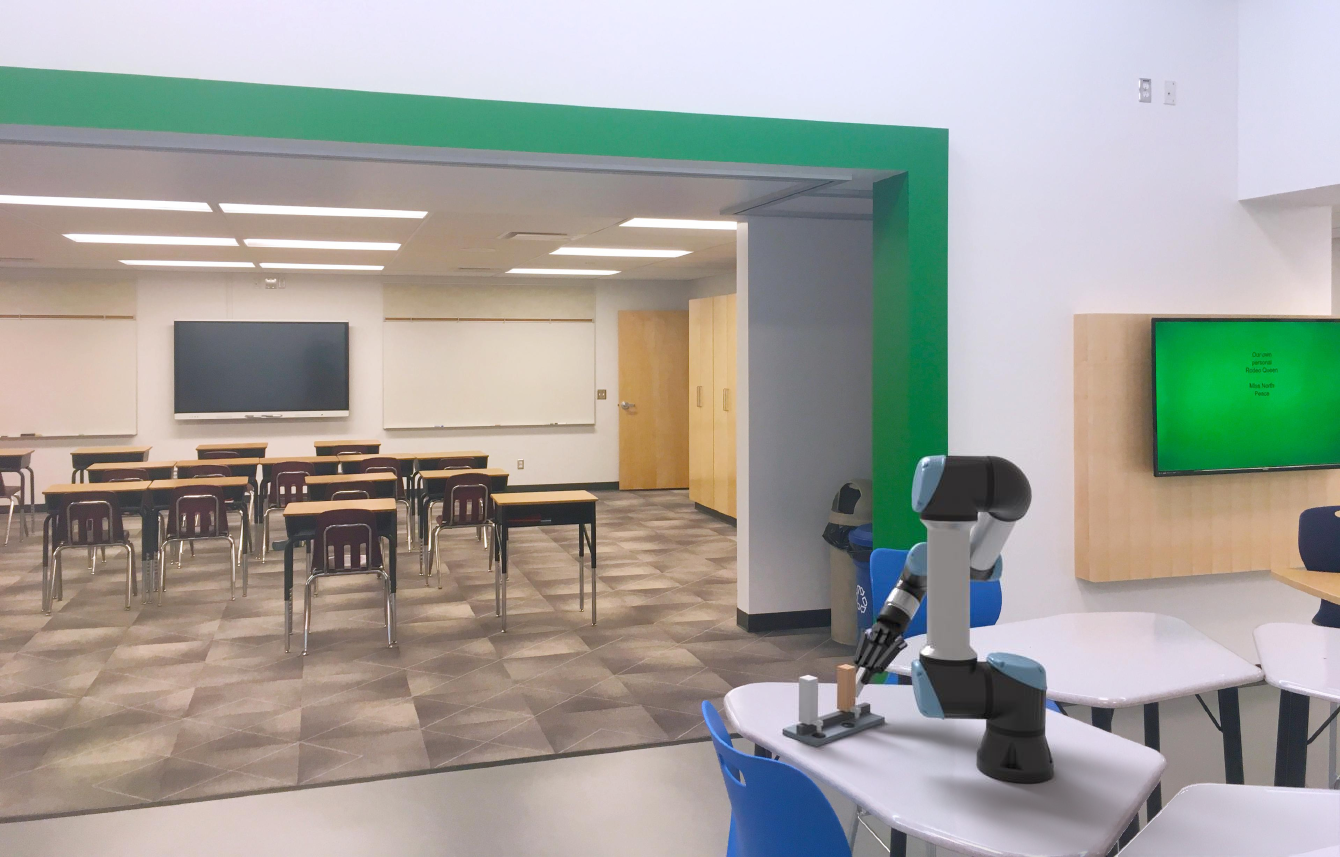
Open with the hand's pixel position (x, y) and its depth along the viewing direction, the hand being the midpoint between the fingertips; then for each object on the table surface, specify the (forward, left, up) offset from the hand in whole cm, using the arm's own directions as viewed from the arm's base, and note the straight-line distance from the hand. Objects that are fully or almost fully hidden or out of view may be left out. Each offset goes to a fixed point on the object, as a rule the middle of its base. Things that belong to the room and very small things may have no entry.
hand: (852, 693), depth 236 cm
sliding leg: (-2, +2, -4) cm, 5 cm away
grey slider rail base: (-3, +6, -6) cm, 9 cm away
